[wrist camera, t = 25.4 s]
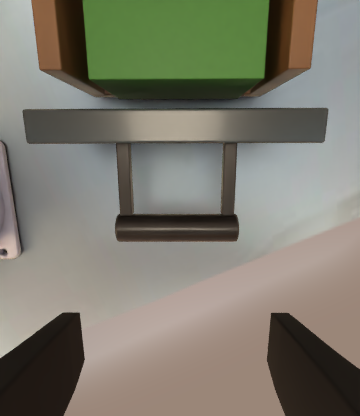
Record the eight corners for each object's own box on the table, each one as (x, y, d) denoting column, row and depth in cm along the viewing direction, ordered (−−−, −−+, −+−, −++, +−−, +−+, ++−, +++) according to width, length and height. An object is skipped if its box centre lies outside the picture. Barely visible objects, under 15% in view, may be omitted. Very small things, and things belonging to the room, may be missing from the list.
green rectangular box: (118, 99, 15) (88, 79, 10) (114, 20, 14) (78, -43, 9) (237, 98, 15) (264, 78, 10) (241, 19, 14) (273, -45, 9)
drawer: (262, 219, 18) (310, 266, 11) (94, 219, 18) (42, 266, 11) (288, -133, 13) (392, -402, 7) (65, -130, 13) (-48, -392, 7)
